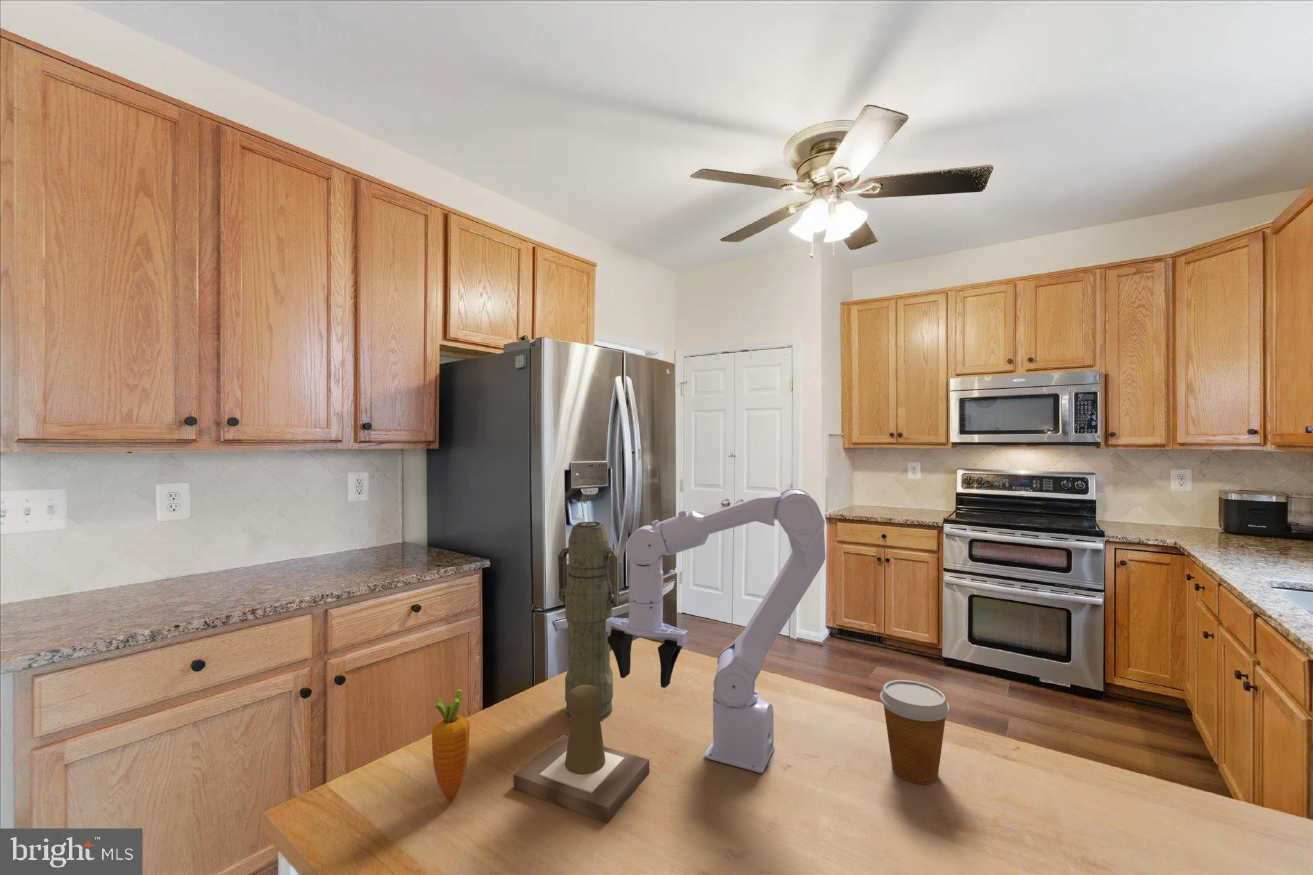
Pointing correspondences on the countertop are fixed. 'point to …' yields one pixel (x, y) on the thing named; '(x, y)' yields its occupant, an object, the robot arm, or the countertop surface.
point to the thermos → (589, 609)
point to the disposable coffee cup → (914, 728)
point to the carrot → (450, 747)
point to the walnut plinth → (582, 780)
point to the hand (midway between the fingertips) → (644, 680)
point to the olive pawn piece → (585, 731)
